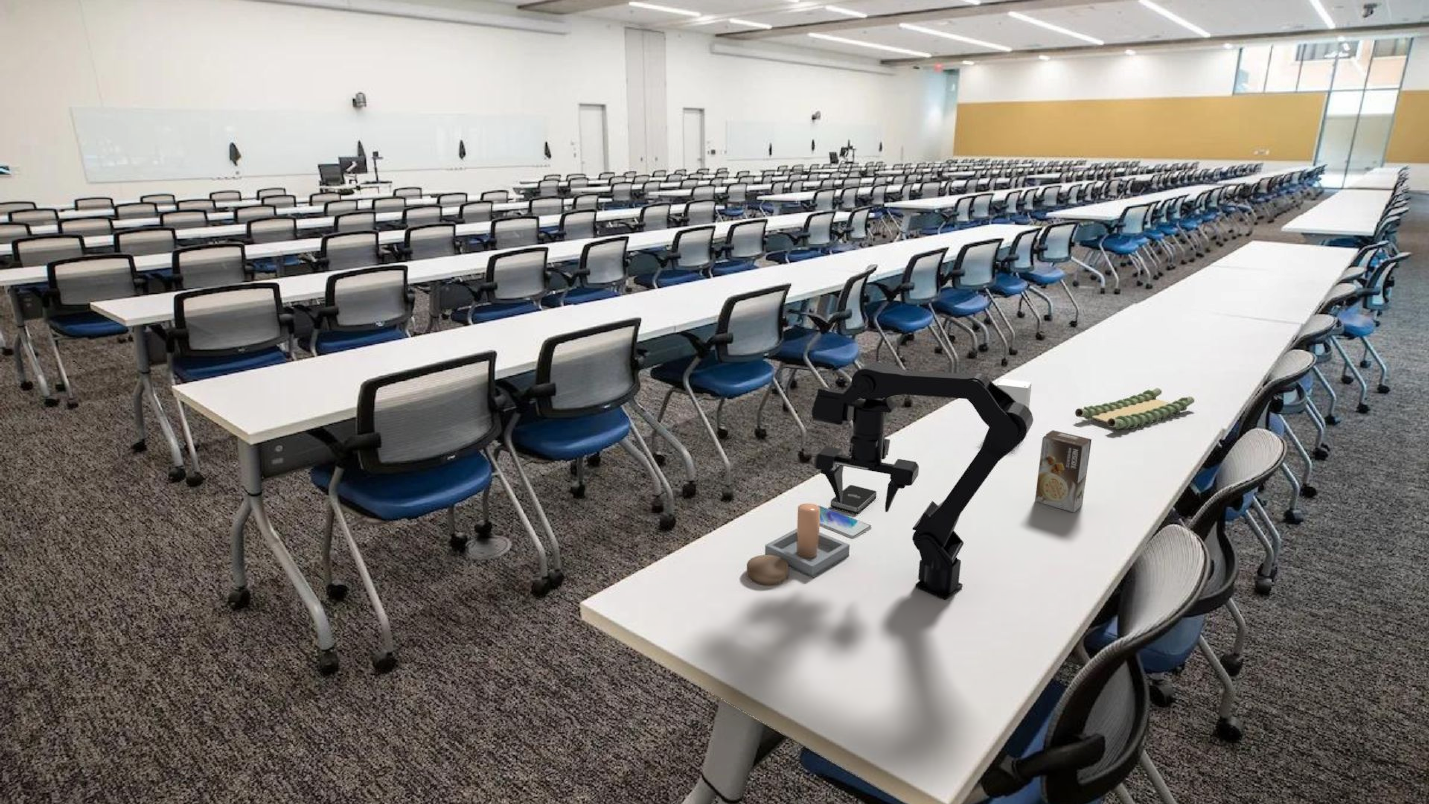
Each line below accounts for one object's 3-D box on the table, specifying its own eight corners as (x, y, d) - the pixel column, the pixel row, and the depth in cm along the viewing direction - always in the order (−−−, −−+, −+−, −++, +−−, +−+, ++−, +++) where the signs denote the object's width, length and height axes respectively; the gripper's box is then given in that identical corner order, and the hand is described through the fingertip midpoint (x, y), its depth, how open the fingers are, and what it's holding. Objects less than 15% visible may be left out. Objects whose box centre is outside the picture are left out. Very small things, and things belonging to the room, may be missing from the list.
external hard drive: (876, 499, 186) (877, 491, 185) (857, 516, 177) (857, 508, 176) (849, 492, 189) (850, 484, 189) (829, 509, 181) (829, 501, 180)
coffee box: (1083, 504, 182) (1094, 438, 177) (1073, 513, 177) (1083, 446, 172) (1043, 492, 188) (1052, 429, 183) (1033, 501, 183) (1041, 436, 178)
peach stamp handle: (822, 555, 159) (824, 510, 155) (804, 560, 157) (805, 514, 154) (810, 546, 162) (812, 501, 159) (792, 550, 160) (793, 506, 157)
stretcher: (1115, 437, 223) (1117, 420, 222) (1070, 422, 235) (1072, 406, 233) (1195, 412, 243) (1198, 397, 241) (1150, 400, 255) (1153, 385, 253)
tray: (849, 555, 160) (849, 544, 159) (812, 577, 152) (812, 566, 151) (802, 535, 168) (802, 525, 167) (765, 556, 160) (765, 545, 159)
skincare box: (1027, 434, 225) (1033, 382, 220) (1021, 441, 219) (1028, 388, 215) (996, 429, 229) (1002, 377, 224) (990, 436, 224) (996, 383, 219)
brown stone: (796, 574, 153) (796, 565, 152) (769, 590, 148) (769, 580, 147) (765, 559, 158) (765, 550, 158) (738, 574, 153) (738, 565, 152)
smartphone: (853, 537, 166) (797, 515, 176) (853, 541, 167) (797, 518, 177) (873, 525, 171) (817, 504, 181) (872, 529, 171) (817, 507, 181)
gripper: (928, 424, 150) (921, 499, 154) (833, 410, 157) (830, 482, 162) (914, 443, 140) (907, 523, 145) (814, 427, 148) (811, 503, 153)
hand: (863, 506), depth 152 cm, fingers open, 9 cm apart
